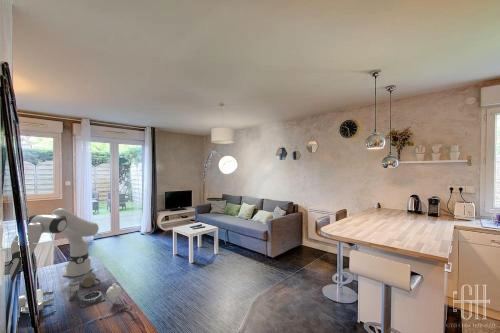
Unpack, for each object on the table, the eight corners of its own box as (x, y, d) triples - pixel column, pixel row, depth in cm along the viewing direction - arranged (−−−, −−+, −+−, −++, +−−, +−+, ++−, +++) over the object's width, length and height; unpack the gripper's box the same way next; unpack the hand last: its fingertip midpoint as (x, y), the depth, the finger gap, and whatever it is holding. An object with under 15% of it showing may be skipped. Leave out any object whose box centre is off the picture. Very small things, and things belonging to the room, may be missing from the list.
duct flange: (78, 299, 141) (78, 294, 141) (100, 292, 149) (101, 288, 149) (81, 308, 132) (81, 303, 132) (105, 300, 141) (105, 296, 141)
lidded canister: (67, 298, 142) (68, 282, 142) (78, 295, 145) (78, 279, 146) (68, 301, 138) (69, 285, 138) (79, 298, 142) (80, 282, 142)
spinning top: (107, 301, 140) (107, 281, 140) (121, 298, 143) (122, 279, 143) (104, 308, 133) (105, 288, 133) (119, 305, 136) (120, 285, 136)
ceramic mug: (81, 289, 152) (82, 277, 152) (82, 283, 159) (83, 272, 159) (100, 285, 158) (100, 274, 158) (100, 280, 165) (101, 270, 165)
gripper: (20, 307, 118) (54, 297, 128) (21, 291, 133) (52, 283, 143) (19, 319, 118) (54, 308, 128) (21, 301, 133) (52, 293, 142)
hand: (53, 295), depth 135 cm, fingers open, 8 cm apart
